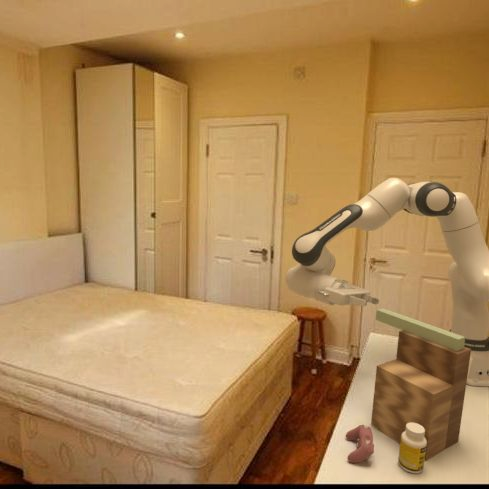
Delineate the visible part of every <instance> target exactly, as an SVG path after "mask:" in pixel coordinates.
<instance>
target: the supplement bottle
mask: <svg viewBox="0 0 489 489" xmlns="http://www.w3.org/2000/svg"><path fill="white" fill-rule="evenodd" d="M424 435H425V429H424V427H423V426H421V425H420V424H417V423H412V422H411V423H407V424H406V430H405V431H404V432H403V433H402V435H401V443H400V444H399V453H398V460H397V462H398V465H399V466H400V468H401V469H402V470H404V471H406V472H407V473H411V474H420V473H421V472H423V470H424V466H425V453H426V445H427V441H426V439H425V437H424Z"/></svg>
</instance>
